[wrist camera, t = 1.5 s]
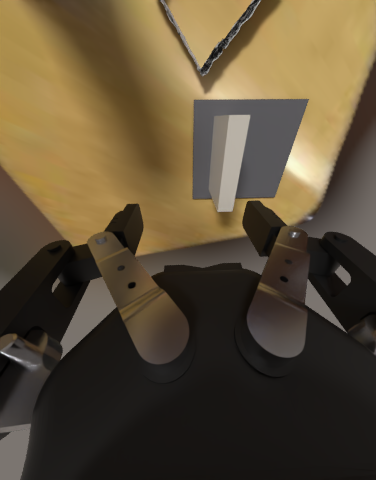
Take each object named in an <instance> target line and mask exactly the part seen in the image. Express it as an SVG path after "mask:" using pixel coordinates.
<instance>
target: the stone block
mask: <svg viewBox="0 0 376 480" xmlns="http://www.w3.org/2000/svg"><path fill="white" fill-rule="evenodd" d="M249 121H250V115H223V116H214V125H213V139H212V152H211V165H210V178H209V192H210V194H211V197H212V199H213V202H214V204H215V207H216V209H217V212H232V211H233V206H234V201H235V195H236V190H237V185H238V179H239V174H240V169H241V163H242V158H243V153H244V147H245V142H246V137H247V131H248V126H249Z"/></svg>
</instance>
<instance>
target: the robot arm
mask: <svg viewBox="0 0 376 480" xmlns="http://www.w3.org/2000/svg"><path fill="white" fill-rule="evenodd" d="M242 224H243V228H244V230H245V231H246V233H247V235H248V237H249V238H250V240H251V242H252V243H253V245H254V247H255V249H256V250H257V252H258V254H259V256H261V257H262V256H268V260H267V262H266V265H265V267H264V270H263V272H262V275H260V274H258V273H256V272H253V271H251V270H247V269H243V268H242V266H241V263H222V264H218V265H214V266H210V267H206V268H200V267H193V266H186V265H167V266H165V267H164V272H160V273H157V274H156V275H153V276H151V277H150V275H149V274H148V273H147V271H146V270H145V269H144V268H143V266H142V265H141V264H140V263H139V261H138V260H137V259H136V257H135V253H136V250H137V247H138V244H139V241H140V238H141V235H142V232H143V220H142V215H141V211H140V207H139V204H127V205H126V207H125V209H124V210H123V211H120V212H118V213H117V214H115V216H114V217H113V219H112V220H111V222H110V223H109V225H108V226H107V228H106V229H105V231H104V232H100V233H97V234H94V235H93V236H91V237H90V238H89V239H88V241H87V244H83V245H79V246H74V247H72V245H71V243H70V242H69V241H66V240H60V241H55V242H52V243H50V244H48V245H46V246H44V247H43V248H42V249H40V251H39V252H38V253H37V254H36V255H35V256H34V257H33V258H32V259H31V260H30V261H29V262H28V263H27V264H26V265H25V266H24V267H23V268H22V269H21V270H20V271H19V272H18V273H17V274H16V275H15V276H14V277H13V278H12V279H11V280H10V281H9V282H8V283H7V284H6V285H5V286H4V287H3V288H2V289H1V290H0V440H1V439H2V438H4V437H5V436H7V435H8V434H9V433H10V432H12V431H19V430H26V429H30V436H29V444H28V450H27V455H26V460H25V464H24V468H23V472H22V476H21V479H20V480H376V256H375V255H374V254H373V253H371V252H370V251H369V250H367V249H366V248H365V247H363V246H362V245H361V244H359V243H358V242H357V241H355V240H354V239H352V238H351V237H349V236H347V235H344V234H341V233H337V232H327V233H325V234H324V236H323V237H322V239H319V238H312V237H308V234H307V232H305V231H304V230H302V229H300V228H298V227H294V226H287V225H286V224H285V223H284V222H283V221H282V220H281V219H280V218H279V217H278V216H277V215H276V214H275V213H274V212H273V211H272V210H271V209H269V208H267V207H265V206H264V205H263V204H262V203H261V202H260V201H248V202H247V204H246V208H245V212H244V216H243V221H242ZM340 265H341V266H342V267H343V268H344V269H345V270H346V271H347V272H348V273H349V274H350V276H351V282H350V283H349V285H348V286H347V285H346V284H345V283H344V282H343V281H342V280H341V279H340V278H339V277H338V276H337V275H336V273H335V271H336V270H337V268H338V267H339V266H340ZM99 277H103V279H104V281H105V283H106V285H107V287H108V289H109V291H110V293H111V295H112V297H113V300H114V302H115V304H116V306H117V307H116V308H115V309H114V310H113V311H112V312H111V313H110V314H109V315H108V316H107V317H106V318H104V319H103V320H102V321H101V322H100V323H99V324H98V325H97V326H96V327H95V328H94V329H93V330H92V331H91V332H90V333H89V334H87V335H86V336H85V337H84V338H83V339H82V340H81V341H80V342H79V343H78V344H77V345H76V346H75V347H74V348H72V349H71V350H70V351H69V352H68V353H67V354H66V355H65V356H64V357H63V358H62V359H61V356H62V352H63V348H62V345H61V344H60V342H61V340H62V338H63V336H64V334H65V332H66V330H67V328H68V326H69V324H70V322H71V320H72V318H73V315H74V313H75V311H76V309H77V307H78V305H79V303H80V301H81V299H82V297H83V295H84V293H85V291H86V289H87V286H88V284H89V282H90V280H92V279H96V278H99ZM57 278H59V280H60V283H59V284H58V286H57V287H56V289H55V290H54V292H53V293H52V285H53V283H54V282H55V281H56V279H57ZM308 279H309V281H310V282H311V284H312V285H313V286H314V288H315V289H316V290H317V292H318V293H319V295H320V296H321V297H322V299H323V300H324V301H325V303H326V304H327V306H328V307H329V308H330V309H331V311H332V312H333V314H334V315H335V317H336V318H337V319H338V321H339V322H340V324H341V325H342V326H343V328H344V329H345V330H346V332H347V333H348V334H347V333H346V332H344V331H343V330H341V329H340V328H339V327H337V326H336V325H334V324H333V323H331V322H330V321H328V320H327V319H325V318H324V317H322V316H321V315H319V314H318V313H316V312H315V311H314V310H312V309H311V308H309V307H308V306H306V305H305V297H306V289H307V280H308Z"/></svg>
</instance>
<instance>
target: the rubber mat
mask: <svg viewBox="0 0 376 480" xmlns="http://www.w3.org/2000/svg"><path fill="white" fill-rule="evenodd" d="M308 100H309V99H256V100H194V135H193V199H208V198H212V197H211V194H210V192H209V178H210V165H211V152H212V139H213V125H214V116H223V115H250V121H249V126H248V131H247V137H246V142H245V147H244V153H243V158H242V163H241V169H240V174H239V179H238V185H237V190H236V195H235V198H257V197H275V195H276V192H277V189H278V186H279V183H280V180H281V177H282V175H283V172H284V169H285V166H286V163H287V160H288V157H289V155H290V152H291V149H292V146H293V143H294V140H295V137H296V135H297V132H298V129H299V126H300V123H301V120H302V117H303V115H304V112H305V109H306V106H307V103H308Z"/></svg>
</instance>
